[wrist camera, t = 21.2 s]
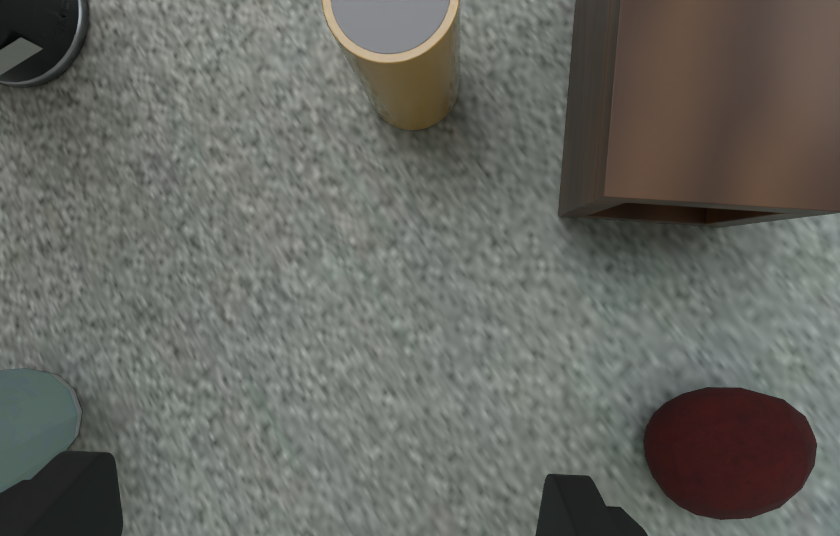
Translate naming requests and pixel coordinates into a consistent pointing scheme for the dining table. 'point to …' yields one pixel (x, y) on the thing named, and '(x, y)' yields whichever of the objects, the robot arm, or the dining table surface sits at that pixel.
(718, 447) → the potato
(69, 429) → the disposable coffee cup
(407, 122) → the tumbler
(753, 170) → the shelf
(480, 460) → the dining table surface
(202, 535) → the dining table surface
